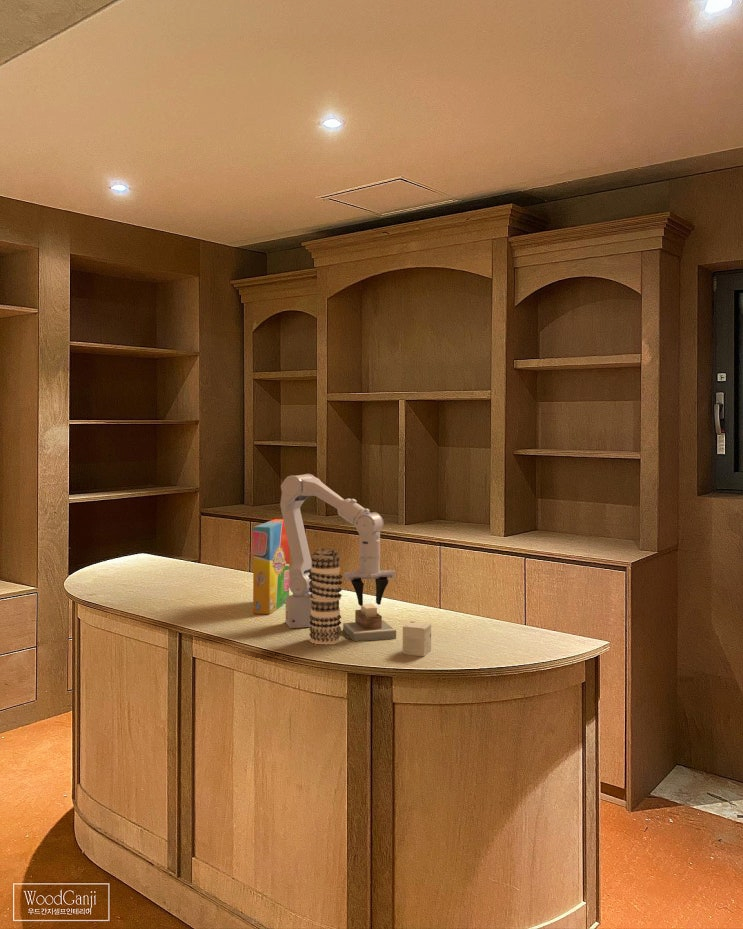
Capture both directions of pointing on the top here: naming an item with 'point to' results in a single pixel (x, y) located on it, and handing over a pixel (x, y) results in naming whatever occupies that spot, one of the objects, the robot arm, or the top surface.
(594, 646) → the top surface
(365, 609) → the beige block
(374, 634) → the dock
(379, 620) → the brown wooden tray
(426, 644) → the skincare box
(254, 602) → the game box
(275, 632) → the top surface
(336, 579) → the decorative candle
